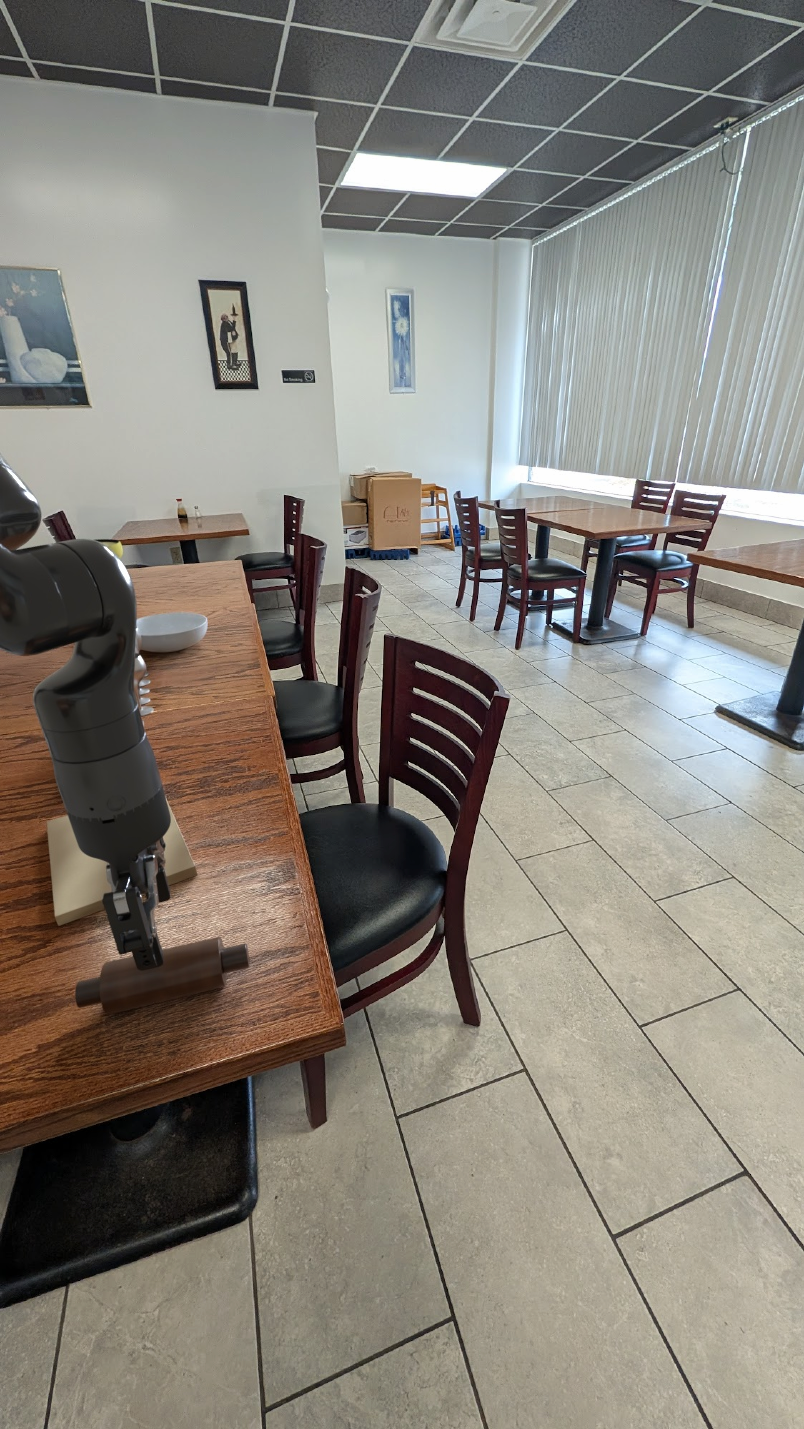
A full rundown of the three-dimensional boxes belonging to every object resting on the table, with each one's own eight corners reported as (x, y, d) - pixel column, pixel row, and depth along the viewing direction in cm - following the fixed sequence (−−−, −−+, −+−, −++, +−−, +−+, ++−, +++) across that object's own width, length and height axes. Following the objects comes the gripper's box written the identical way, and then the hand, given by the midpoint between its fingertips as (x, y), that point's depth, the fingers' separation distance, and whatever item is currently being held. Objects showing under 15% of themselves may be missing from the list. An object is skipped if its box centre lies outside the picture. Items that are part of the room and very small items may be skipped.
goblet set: (126, 674, 141) (112, 620, 135) (151, 669, 143) (139, 617, 137) (126, 720, 118) (110, 658, 112) (156, 714, 120) (142, 653, 114)
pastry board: (58, 926, 68) (54, 916, 67) (49, 829, 85) (46, 821, 85) (197, 875, 75) (195, 865, 75) (163, 795, 92) (161, 787, 92)
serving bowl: (171, 665, 145) (165, 638, 142) (112, 654, 154) (105, 629, 151) (227, 640, 162) (223, 615, 159) (171, 631, 171) (166, 608, 168)
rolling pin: (81, 1032, 56) (66, 999, 54) (90, 990, 60) (77, 957, 58) (252, 990, 59) (245, 957, 57) (250, 953, 64) (243, 921, 61)
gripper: (82, 756, 55) (125, 890, 62) (41, 849, 42) (101, 1003, 49) (167, 743, 56) (199, 874, 63) (152, 829, 44) (194, 980, 51)
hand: (156, 931), depth 56 cm, fingers open, 8 cm apart
